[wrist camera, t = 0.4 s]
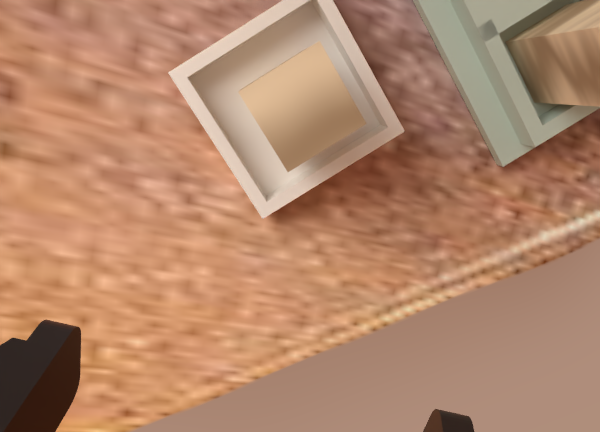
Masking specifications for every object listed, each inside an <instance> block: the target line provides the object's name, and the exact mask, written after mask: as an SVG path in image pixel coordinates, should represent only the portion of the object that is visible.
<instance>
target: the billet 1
mask: <svg viewBox="0 0 600 432" xmlns="http://www.w3.org/2000/svg"><path fill="white" fill-rule="evenodd" d="M238 93H239V94H240V96H241V98H242V99H243V101H244V102H245V104H246V106H247V107H248V109H249V110H250V112H251V114H252V115H253V117H254V118H255V120H256V122H257V123H258V125H259V127H260V128H261V130H262V131H263V133H264V135H265V136H266V138H267V139H268V141H269V143H270V144H271V146H272V148H273V149H274V151H275V152H276V154H277V156H278V157H279V159H280V160H281V162H282V164H283V165H284V167H285V169H286V170H287V172H290V171H291V170H293V169H294V168H296V167H298V166H299V165H301V164H302V163H304V162H306V161H307V160H309V159H311V158H312V157H314V156H315V155H317V154H319V153H320V152H322V151H323V150H325V149H327V148H328V147H330V146H332V145H333V144H335V143H336V142H338V141H340V140H341V139H343V138H345V137H346V136H348V135H349V134H351V133H353V132H354V131H356V130H357V129H359V128H361V127H362V126H364V125H366V122H365V120H364V118H363V117H362V115H361V113H360V111H359V110H358V108H357V106H356V104H355V102H354V101H353V99H352V97H351V95H350V94H349V92H348V90H347V88H346V86H345V85H344V83H343V81H342V79H341V78H340V76H339V74H338V72H337V71H336V69H335V67H334V65H333V63H332V62H331V60H330V58H329V56H328V55H327V53H326V51H325V49H324V48H323V46H322V44H321V42H320V41H319V42H317V43H315V44H313V45H312V46H310V47H308V48H306V49H305V50H303V51H301V52H299V53H298V54H296V55H295V56H293V57H291V58H290V59H288V60H287V61H285V62H283V63H282V64H280V65H279V66H277V67H275V68H274V69H272V70H271V71H269V72H267V73H266V74H264V75H263V76H261V77H260V78H258V79H256V80H255V81H253V82H252V83H250V84H248V85H247V86H245V87H244V88H242V89H240V90H239V92H238Z"/></svg>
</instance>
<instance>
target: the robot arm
mask: <svg viewBox="0 0 600 432" xmlns="http://www.w3.org/2000/svg"><path fill="white" fill-rule="evenodd" d="M80 358H81V330H80V328H79V327H76V326H72V325H67V324H63V323H58V322H54V321H50V320H44V321H42V322H41V323H40V324H39V325H38V327H37V328H36V329H35V330H34V332H33V333H32V334H31V336H30V337H29V338H28V340H27V341H25V340H21V339H16V338H12V339H10V340H8V341H7V342H5V343H3V344H2V345H0V432H55V431H56V429H57V428H58V426H59V424H60V423H61V421H62V419H63V417H64V416H65V414H66V412H67V411H68V409H69V407H70V405H71V404H72V402H73V399H74V397H75V395H76V392H77V389H78V385H79V380H80ZM423 432H474V429H473V424H472V421H471V419H470V417H469V416H464V415H460V414H456V413H451V412H447V411H442V410H438V409H435V410H434V411H433V412H432V414H431V416H430V418H429V420H428V422H427V425H426V427H425V429H424V431H423Z"/></svg>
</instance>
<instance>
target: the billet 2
mask: <svg viewBox="0 0 600 432" xmlns="http://www.w3.org/2000/svg"><path fill="white" fill-rule="evenodd" d="M505 43H506V45H507V47H508V49H509V51H510V53H511V55H512V57H513V59H514V62H515V64H516V66H517V68H518V70H519V72H520V74H521V76H522V78H523V80H524V82H525V85H526V87H527V89H528V91H529V93H530V95H531V97H532V99H533V101H534V103H550V104H566V105H582V106H598V107H600V0H583V1H579V2H575V3H571V4H567V5H564V6H563V7H561V8H560V9H558V10H556V11H555V12H553V13H551V14H550V15H548V16H547V17H545V18H543V19H542V20H540V21H539V22H537V23H535V24H534V25H532V26H530V27H529V28H527V29H526V30H524V31H522V32H521V33H519V34H517V35H516V36H514V37H513V38H511V39H509V40H508V41H506V42H505Z"/></svg>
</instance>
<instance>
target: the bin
mask: <svg viewBox="0 0 600 432" xmlns="http://www.w3.org/2000/svg"><path fill="white" fill-rule="evenodd" d="M319 41H320V42H321V44H322V46H323V48H324V49H325V51H326V53H327V55H328V56H329V58H330V60H331V62H332V63H333V65H334V67H335V69H336V71H337V72H338V74H339V76H340V78H341V79H342V81H343V83H344V85H345V86H346V88H347V90H348V92H349V94H350V95H351V97H352V99H353V101H354V102H355V104H356V106H357V108H358V110H359V111H360V113H361V115H362V117H363V118H364V120H365V122H366V125H364V126H362V127H361V128H359V129H357V130H356V131H354V132H353V133H351V134H349V135H348V136H346V137H345V138H343V139H341V140H340V141H338V142H336V143H335V144H333V145H332V146H330V147H328V148H327V149H325V150H323V151H322V152H320V153H319V154H317V155H315V156H314V157H312V158H311V159H309V160H307V161H306V162H304V163H302V164H301V165H299V166H298V167H296V168H294V169H293V170H291V171H290V172H287V170H286V169H285V167H284V165H283V164H282V162H281V160H280V159H279V157H278V156H277V154H276V152H275V151H274V149H273V148H272V146H271V144H270V143H269V141H268V139H267V138H266V136H265V135H264V133H263V131H262V130H261V128H260V127H259V125H258V123H257V122H256V120H255V118H254V117H253V115H252V114H251V112H250V110H249V109H248V107H247V106H246V104H245V102H244V101H243V99H242V98H241V96H240V94H239V93H238V92H239V90H240V89H242V88H244V87H245V86H247V85H248V84H250V83H252V82H253V81H255V80H256V79H258V78H260V77H261V76H263V75H264V74H266V73H267V72H269V71H271V70H272V69H274V68H275V67H277V66H279V65H280V64H282V63H283V62H285V61H287V60H288V59H290V58H291V57H293V56H295V55H296V54H298V53H299V52H301V51H303V50H305V49H306V48H308V47H310V46H312V45H313V44H315V43H317V42H319ZM168 73H169V75H170V76H171V78H172V79H173V81H174V82H175V84H176V86H177V87H178V89H179V90H180V92H181V93H182V95H183V96H184V98H185V99H186V101H187V103H188V104H189V106H190V107H191V109H192V110H193V112H194V113H195V115H196V116H197V118H198V120H199V121H200V123H201V124H202V126H203V127H204V129H205V130H206V132H207V133H208V135H209V137H210V138H211V140H212V141H213V143H214V144H215V146H216V147H217V149H218V150H219V152H220V154H221V155H222V157H223V158H224V160H225V161H226V163H227V164H228V166H229V167H230V169H231V171H232V172H233V174H234V175H235V177H236V178H237V180H238V181H239V183H240V184H241V186H242V188H243V189H244V191H245V192H246V194H247V195H248V197H249V198H250V200H251V201H252V203H253V205H254V206H255V208H256V209H257V211H258V212H259V214H260V215H261V217H262V218H265V217H267V216H268V215H270V214H271V213H273V212H275V211H276V210H278V209H280V208H281V207H283V206H284V205H286V204H288V203H289V202H291V201H293V200H294V199H296V198H297V197H299V196H301V195H302V194H304V193H306V192H307V191H309V190H310V189H312V188H314V187H315V186H317V185H319V184H320V183H322V182H323V181H325V180H327V179H328V178H330V177H332V176H333V175H335V174H336V173H338V172H340V171H341V170H343V169H345V168H346V167H348V166H349V165H351V164H353V163H354V162H356V161H358V160H359V159H361V158H362V157H364V156H366V155H367V154H369V153H371V152H372V151H374V150H375V149H377V148H379V147H380V146H382V145H384V144H385V143H387V142H388V141H390V140H392V139H393V138H395V137H397V136H398V135H400V134H401V133H403V132H405V131H404V129H403V127H402V125H401V123H400V122H399V120H398V118H397V116H396V114H395V113H394V111H393V109H392V107H391V105H390V103H389V102H388V100H387V98H386V96H385V94H384V92H383V91H382V89H381V87H380V85H379V83H378V82H377V80H376V78H375V76H374V74H373V72H372V71H371V69H370V67H369V65H368V63H367V62H366V60H365V58H364V56H363V54H362V52H361V51H360V49H359V47H358V45H357V43H356V41H355V40H354V38H353V36H352V34H351V32H350V31H349V29H348V27H347V25H346V23H345V21H344V20H343V18H342V16H341V14H340V12H339V11H338V9H337V7H336V5H335V3H334V1H333V0H283V1H281V2H279V3H278V4H276V5H275V6H273V7H271V8H270V9H268V10H267V11H265V12H264V13H262V14H260V15H259V16H257V17H256V18H254V19H252V20H251V21H249V22H248V23H246V24H245V25H243V26H241V27H240V28H238V29H237V30H235V31H233V32H232V33H230V34H229V35H227V36H226V37H224V38H222V39H221V40H219V41H218V42H216V43H214V44H213V45H211V46H210V47H208V48H206V49H205V50H203V51H202V52H200V53H199V54H197V55H195V56H194V57H192V58H191V59H189V60H187V61H186V62H184V63H183V64H181V65H180V66H178V67H176V68H175V69H173V70H172V71H170V72H168Z"/></svg>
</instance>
